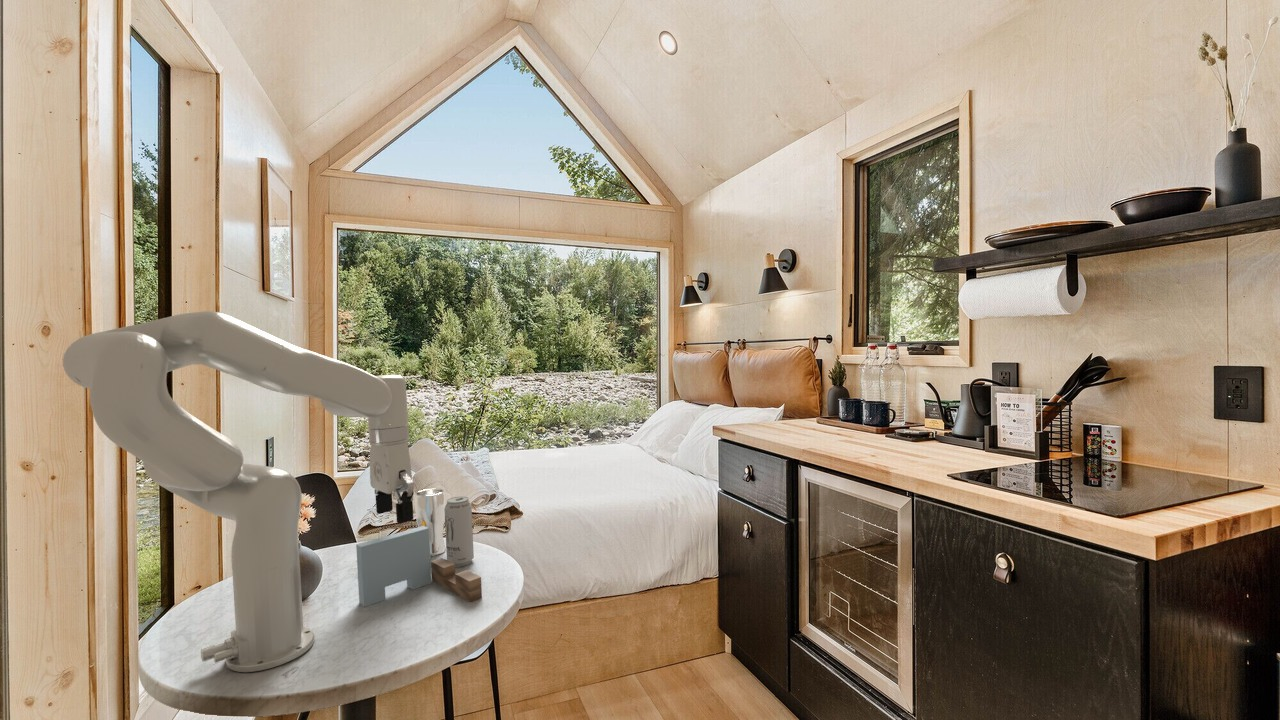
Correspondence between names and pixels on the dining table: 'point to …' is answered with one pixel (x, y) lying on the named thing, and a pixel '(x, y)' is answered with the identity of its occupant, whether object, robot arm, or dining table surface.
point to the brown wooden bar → (456, 580)
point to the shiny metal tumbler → (432, 517)
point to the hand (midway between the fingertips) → (394, 516)
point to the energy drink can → (459, 531)
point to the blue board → (393, 563)
